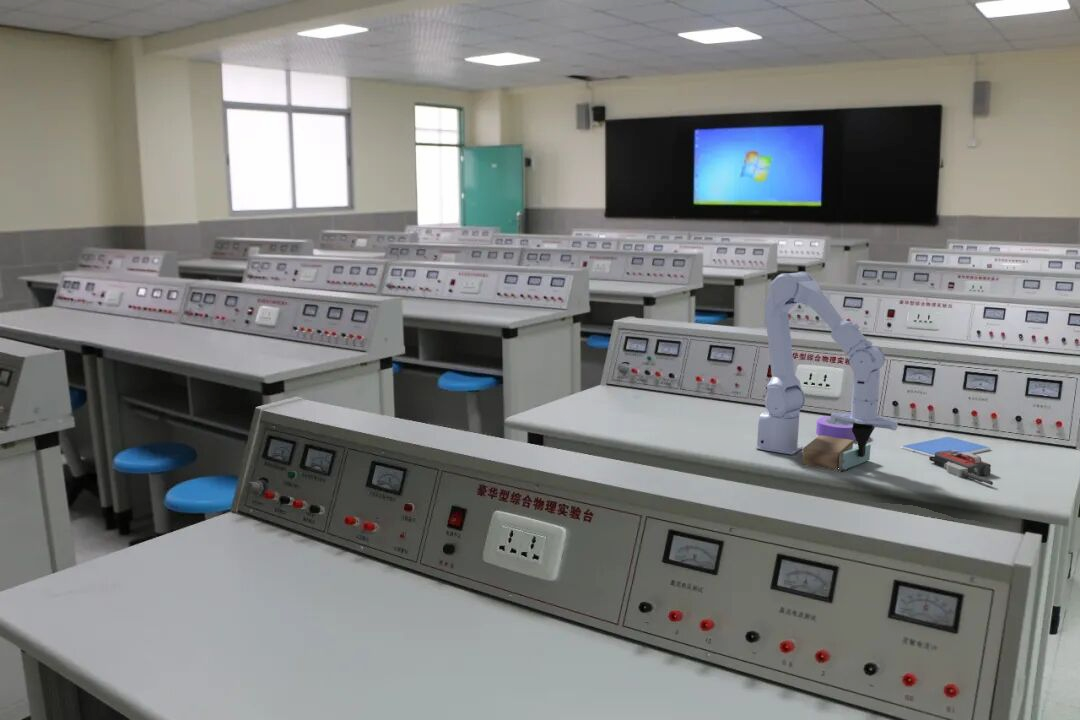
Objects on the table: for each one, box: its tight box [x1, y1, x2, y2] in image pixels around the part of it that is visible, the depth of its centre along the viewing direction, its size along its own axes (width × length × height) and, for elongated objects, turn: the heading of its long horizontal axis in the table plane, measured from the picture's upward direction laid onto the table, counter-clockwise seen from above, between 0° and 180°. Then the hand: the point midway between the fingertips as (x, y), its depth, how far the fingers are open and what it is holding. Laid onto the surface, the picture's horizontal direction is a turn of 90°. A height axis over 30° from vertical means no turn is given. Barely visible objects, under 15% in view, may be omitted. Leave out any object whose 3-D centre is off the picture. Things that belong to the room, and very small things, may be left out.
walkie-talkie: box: [928, 450, 994, 486], centre depth 201 cm, size 9×4×20 cm
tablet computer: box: [900, 436, 991, 458], centre depth 221 cm, size 19×13×1 cm, turn 120°
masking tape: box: [815, 416, 856, 441], centre depth 234 cm, size 12×12×4 cm
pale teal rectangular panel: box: [842, 443, 872, 470], centre depth 206 cm, size 13×1×4 cm, turn 133°
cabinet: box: [801, 435, 854, 472], centre depth 209 cm, size 9×15×4 cm, turn 147°
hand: (861, 455), depth 205 cm, fingers closed, pressing on pale teal rectangular panel
